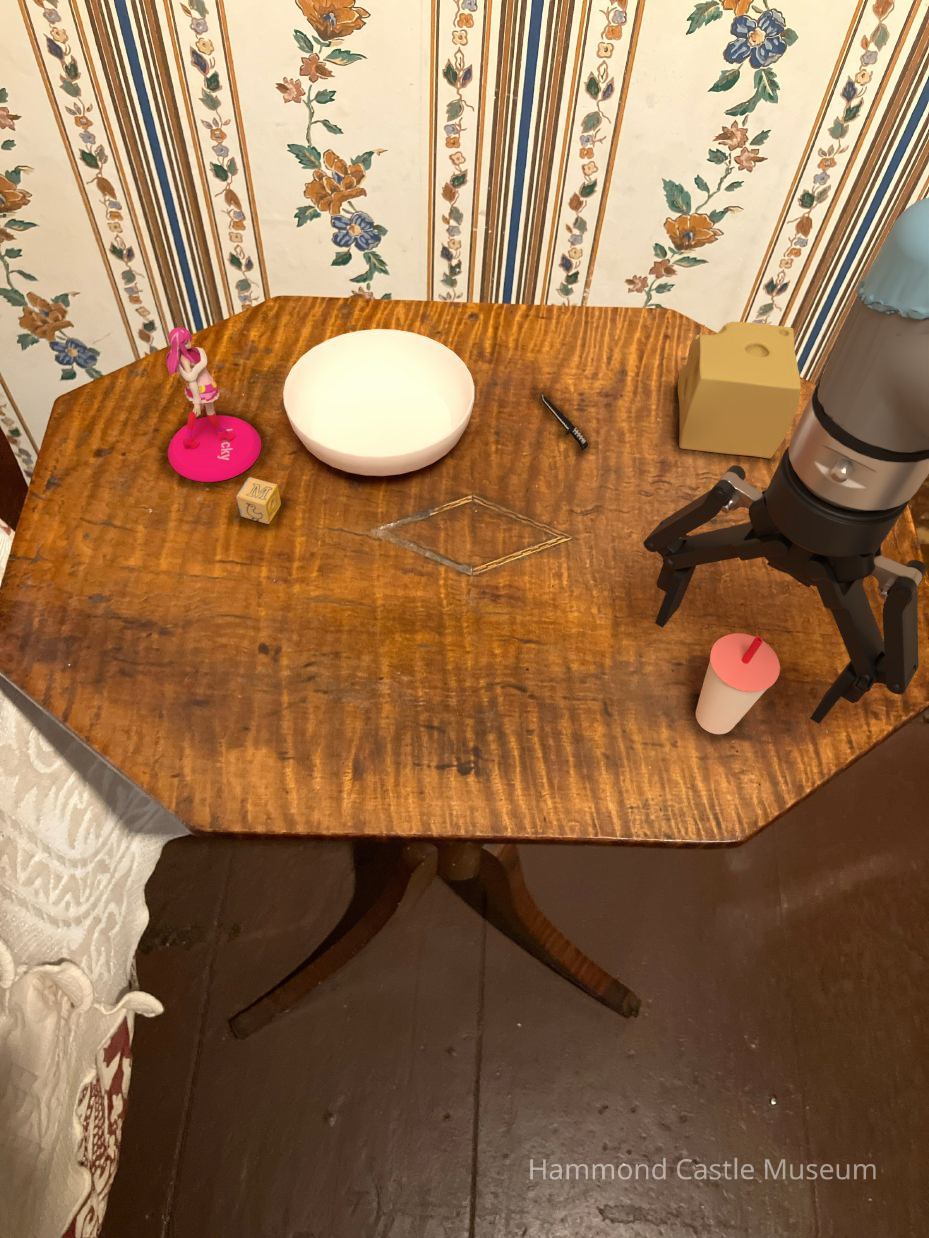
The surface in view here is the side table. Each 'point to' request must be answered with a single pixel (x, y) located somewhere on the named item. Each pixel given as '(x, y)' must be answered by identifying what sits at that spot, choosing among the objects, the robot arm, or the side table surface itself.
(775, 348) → the cheese
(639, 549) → the side table surface
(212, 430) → the figurine
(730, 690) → the cup
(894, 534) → the side table surface
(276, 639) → the side table surface
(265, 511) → the alphabet block
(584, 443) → the knife
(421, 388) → the bowl
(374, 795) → the side table surface
